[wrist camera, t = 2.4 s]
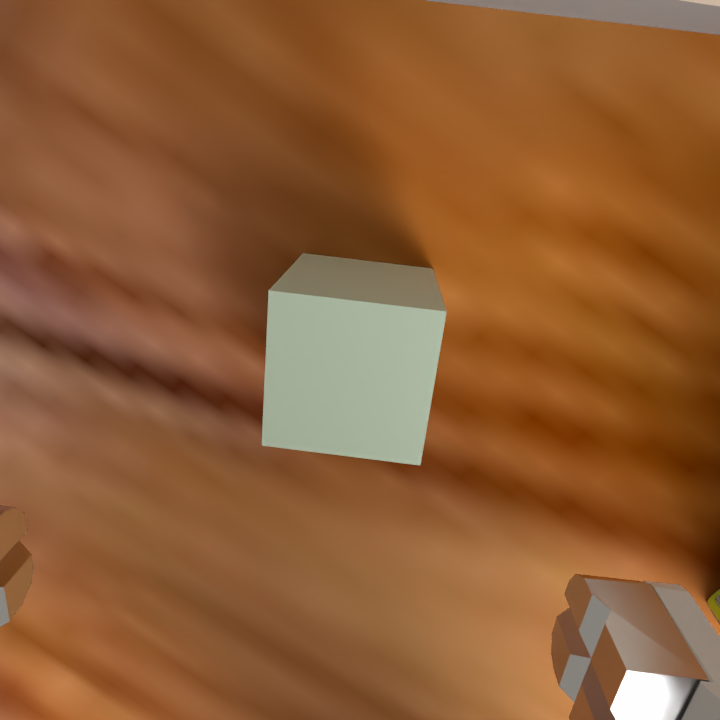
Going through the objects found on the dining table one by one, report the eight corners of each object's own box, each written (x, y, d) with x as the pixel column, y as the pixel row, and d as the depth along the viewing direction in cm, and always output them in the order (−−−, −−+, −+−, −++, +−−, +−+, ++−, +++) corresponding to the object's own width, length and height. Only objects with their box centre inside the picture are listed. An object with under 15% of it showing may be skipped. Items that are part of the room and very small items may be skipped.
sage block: (414, 386, 22) (420, 465, 17) (295, 372, 22) (261, 445, 17) (432, 268, 21) (446, 311, 15) (303, 253, 21) (268, 290, 15)
